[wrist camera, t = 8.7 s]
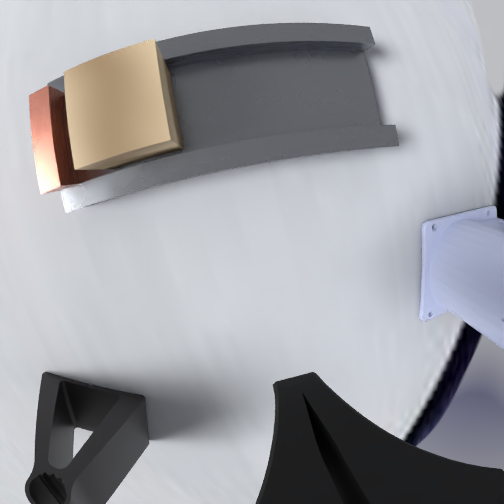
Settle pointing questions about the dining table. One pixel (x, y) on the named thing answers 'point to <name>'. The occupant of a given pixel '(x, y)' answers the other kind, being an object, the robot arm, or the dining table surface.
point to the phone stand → (93, 451)
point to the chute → (232, 108)
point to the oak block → (121, 108)
